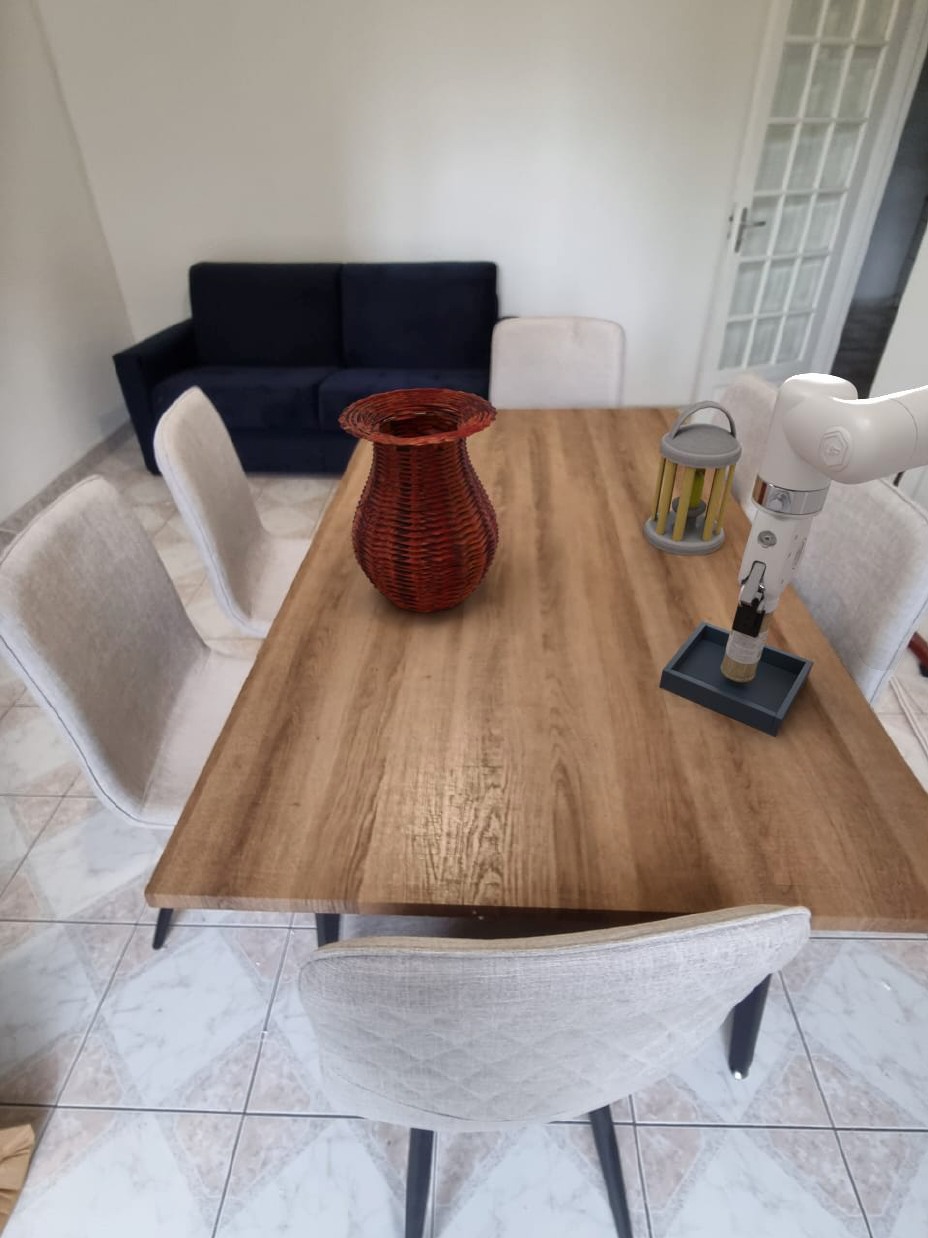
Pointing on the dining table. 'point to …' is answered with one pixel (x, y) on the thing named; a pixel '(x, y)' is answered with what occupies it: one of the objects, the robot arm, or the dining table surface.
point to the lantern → (693, 485)
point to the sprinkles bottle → (747, 646)
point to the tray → (743, 701)
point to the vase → (422, 497)
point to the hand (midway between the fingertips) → (752, 621)
